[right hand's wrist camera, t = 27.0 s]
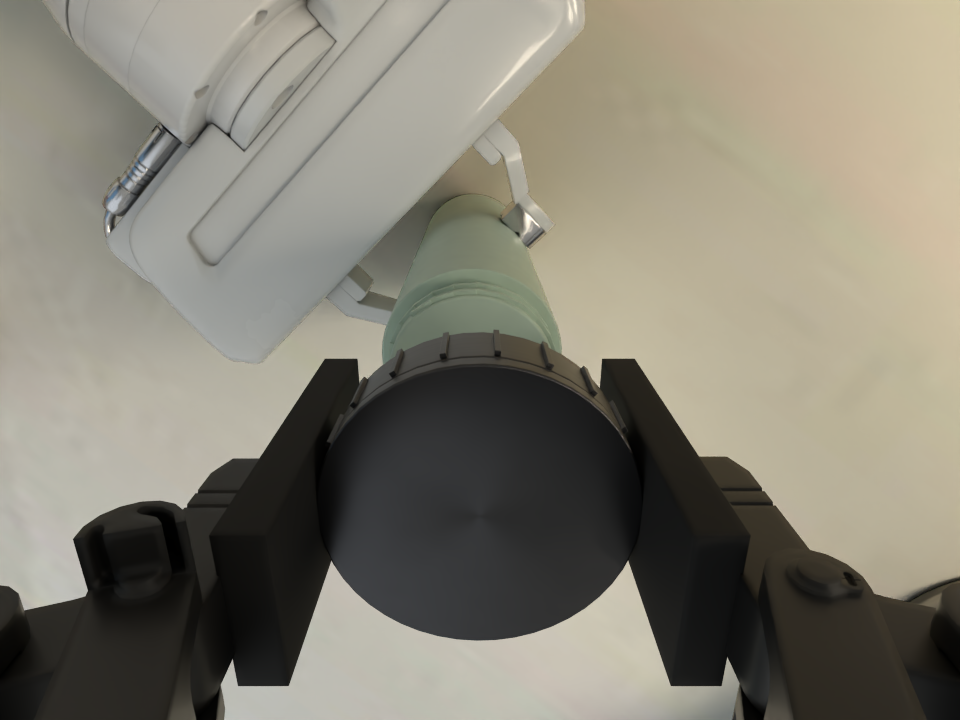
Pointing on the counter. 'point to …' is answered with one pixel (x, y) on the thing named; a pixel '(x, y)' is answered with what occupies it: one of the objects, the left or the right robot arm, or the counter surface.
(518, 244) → the pale green bottle
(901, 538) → the counter surface
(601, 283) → the counter surface
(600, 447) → the lid
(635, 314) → the counter surface
